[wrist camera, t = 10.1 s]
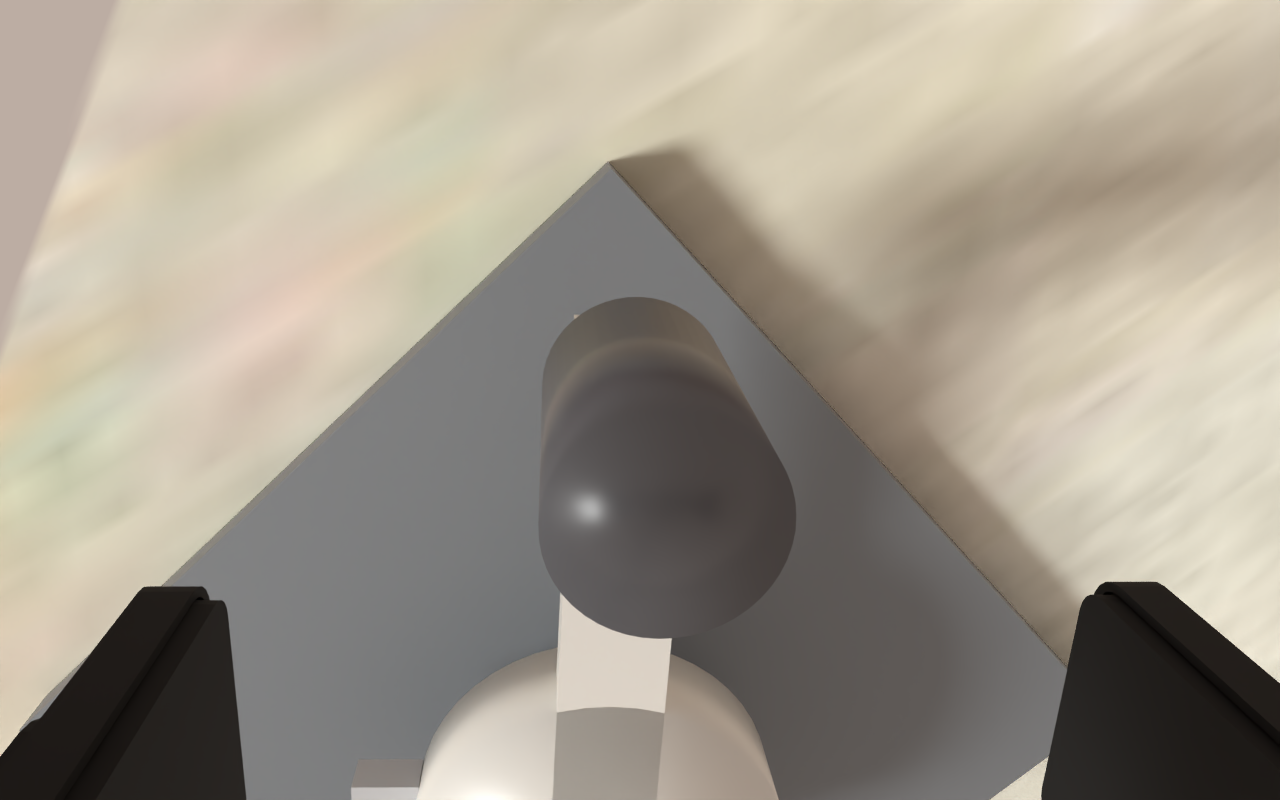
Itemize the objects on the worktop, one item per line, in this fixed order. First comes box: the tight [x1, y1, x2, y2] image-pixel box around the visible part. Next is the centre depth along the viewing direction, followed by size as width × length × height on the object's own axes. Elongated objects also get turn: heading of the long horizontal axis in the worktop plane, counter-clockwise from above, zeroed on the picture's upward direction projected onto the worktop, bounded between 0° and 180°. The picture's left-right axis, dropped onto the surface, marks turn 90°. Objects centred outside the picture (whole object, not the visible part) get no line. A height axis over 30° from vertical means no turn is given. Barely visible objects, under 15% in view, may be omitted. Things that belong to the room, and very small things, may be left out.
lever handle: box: [351, 297, 797, 800], centre depth 20 cm, size 20×10×8 cm, turn 176°
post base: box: [20, 162, 1067, 800], centre depth 28 cm, size 22×22×4 cm
